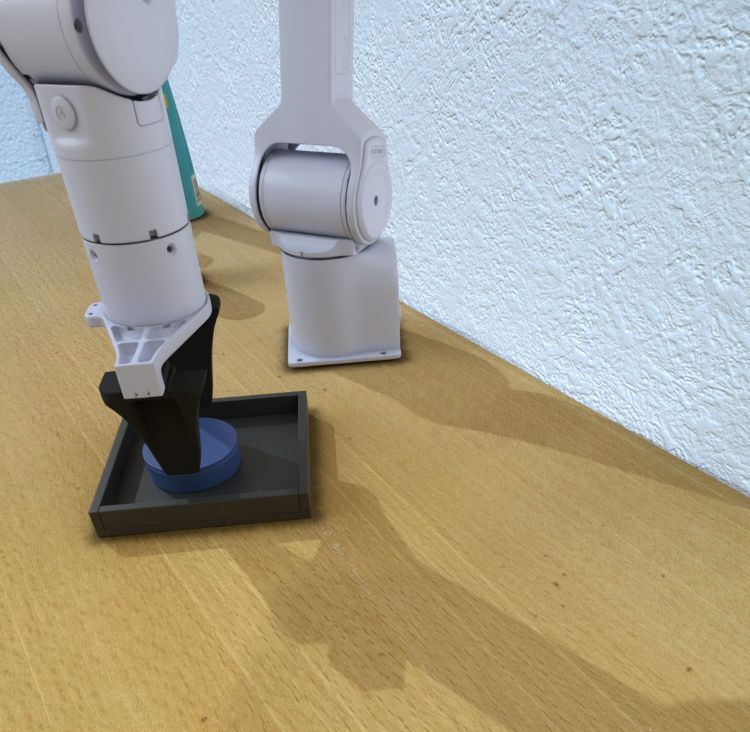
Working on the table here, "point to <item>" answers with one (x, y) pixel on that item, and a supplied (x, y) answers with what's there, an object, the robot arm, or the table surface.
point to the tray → (229, 499)
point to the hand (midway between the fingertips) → (190, 436)
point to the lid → (202, 460)
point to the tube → (183, 156)
